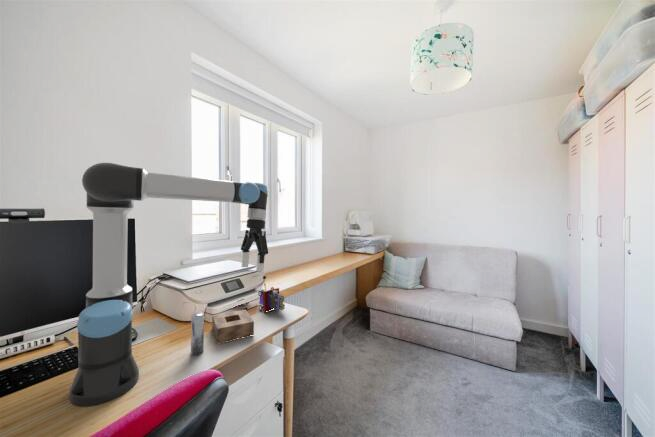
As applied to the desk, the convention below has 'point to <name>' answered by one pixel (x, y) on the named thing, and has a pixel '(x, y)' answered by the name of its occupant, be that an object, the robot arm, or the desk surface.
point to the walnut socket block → (232, 325)
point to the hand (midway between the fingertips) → (252, 269)
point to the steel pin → (197, 333)
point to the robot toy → (271, 299)
